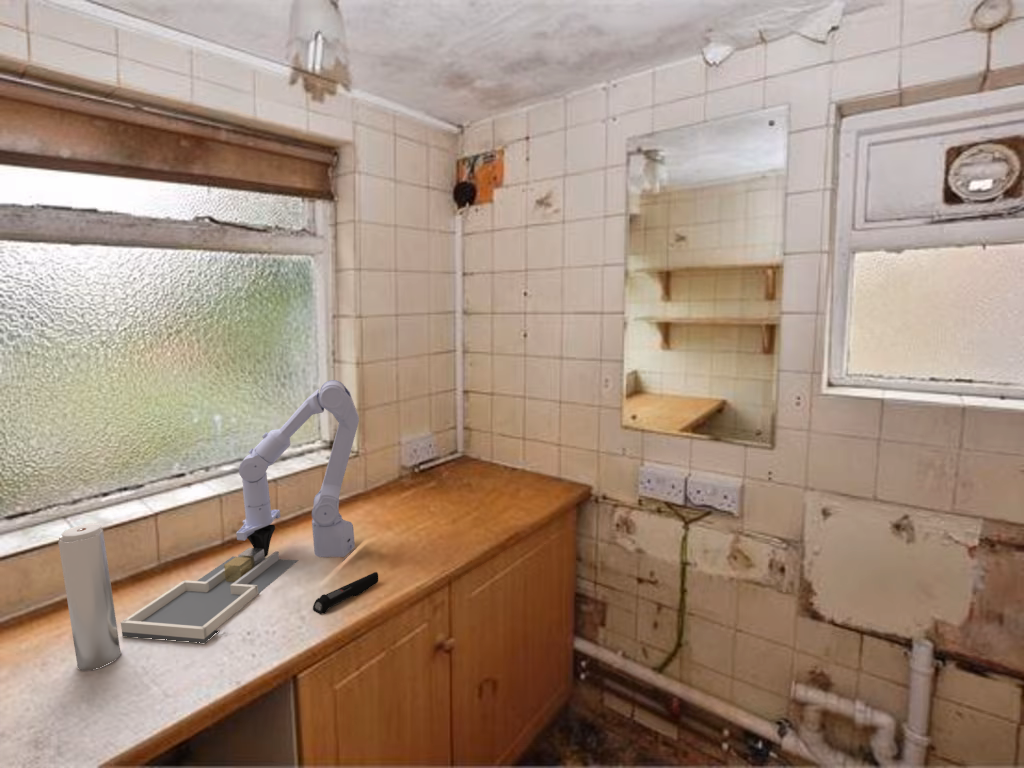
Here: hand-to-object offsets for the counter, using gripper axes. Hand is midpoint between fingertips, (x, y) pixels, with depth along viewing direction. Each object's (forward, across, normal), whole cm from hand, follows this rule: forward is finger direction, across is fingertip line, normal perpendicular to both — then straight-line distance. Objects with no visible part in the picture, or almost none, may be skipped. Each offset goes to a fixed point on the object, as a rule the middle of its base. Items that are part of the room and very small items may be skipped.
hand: (262, 556), depth 140 cm
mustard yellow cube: (+1, +9, 0) cm, 9 cm away
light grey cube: (+1, +4, 0) cm, 4 cm away
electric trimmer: (+2, +12, +28) cm, 31 cm away
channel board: (+2, +16, 0) cm, 16 cm away
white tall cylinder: (+2, +39, -7) cm, 40 cm away
